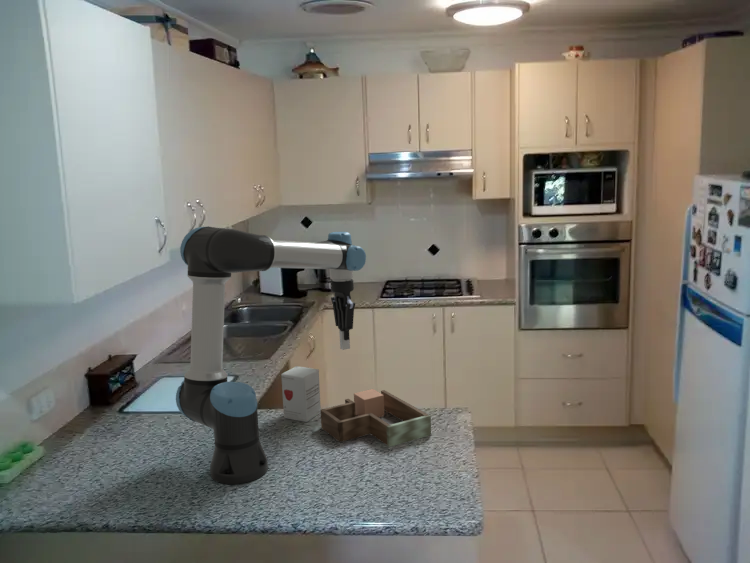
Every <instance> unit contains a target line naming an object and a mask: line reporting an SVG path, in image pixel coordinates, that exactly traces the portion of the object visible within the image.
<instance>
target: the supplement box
mask: <svg viewBox="0 0 750 563" xmlns="http://www.w3.org/2000/svg"><path fill="white" fill-rule="evenodd" d="M280 376H281V385H282V386H281V389H282V406H283V418H284V419H288V420H293V421H294V420H295V421H297V422H298V421H299V422H304V423H307V422H309V421H311V420H312V419H314V418H315V417H316V416H317V415H319V414H321V411H320V410H321V409H322V408H321V386H320V369H318V368H313V367H306V366H297V365H295V366H294V367H293V368H290V369H289V370H287V371H284V372H283V373H281V374H280Z"/></svg>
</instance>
